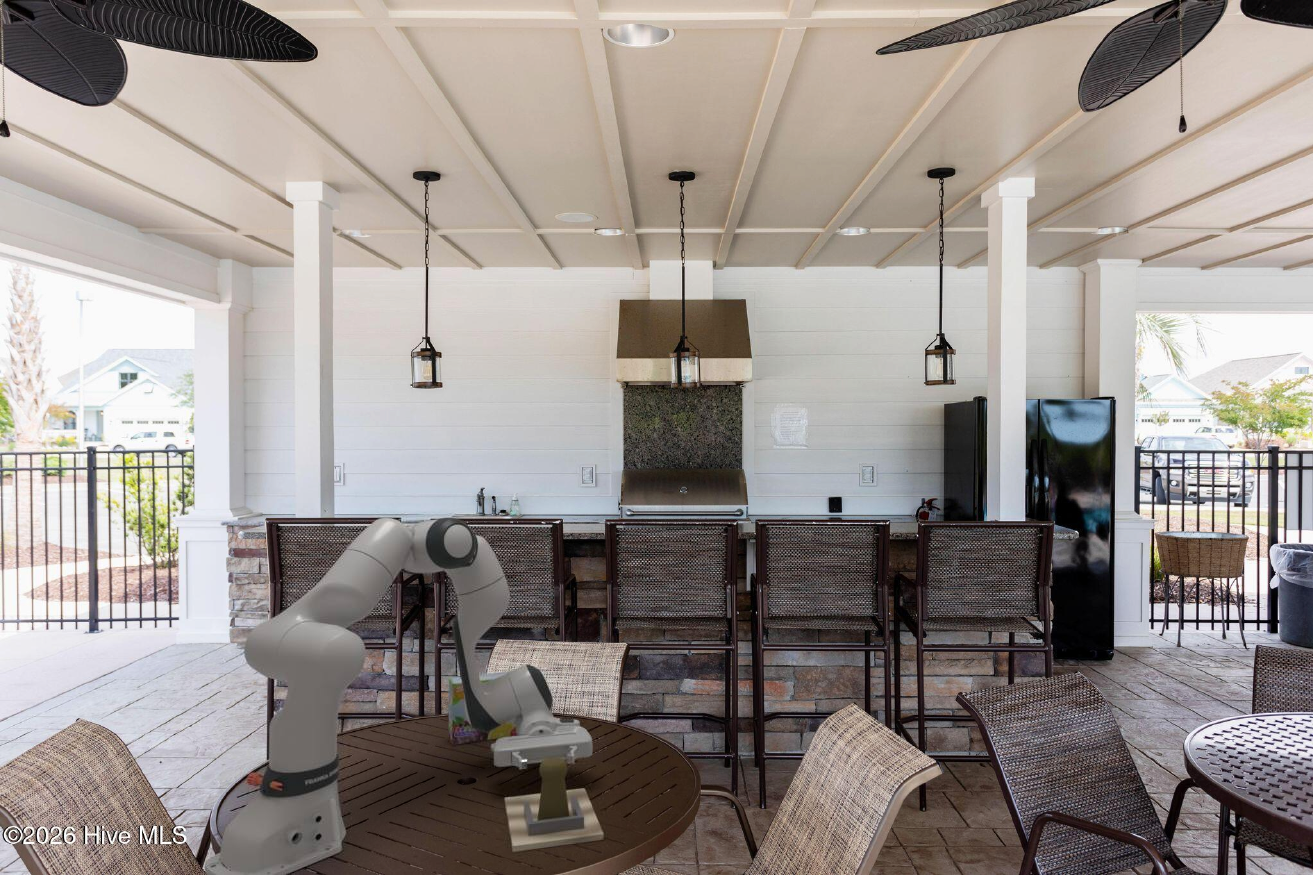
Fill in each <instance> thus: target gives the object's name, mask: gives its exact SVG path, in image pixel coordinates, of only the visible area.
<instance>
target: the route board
mask: <svg viewBox="0 0 1313 875" xmlns="http://www.w3.org/2000/svg"><path fill="white" fill-rule="evenodd" d="M566 793H567V800H568V808H569V816H574V815H573V812H572V809H571V797H577V800H578V803H579V805H580V808H581V811H582V813H583V816H584V828H583V829H576V830H568V831H561V832H553V833H546V834H538V835H531V836H528V831H527V826H526V821H525V817H524V803H527V802H529V804H530V808H531V812H532V817H533V821H537V819H538V811H539V803H540V795H541V792H540V793H534V794H533V793H532V794H526V795H517V796H508V797H504V807H505V812H506V813H505V814H506V818H507V819H506V820H507V825H508V831H509V837H510V838H509V839H510V843H511V850H512V853H517V852H524V851H530V850H539V849H545V848H552V847H559V846H560V847H561V846H567V845H573V844H580V843H588V842H595V841H596V842H597V841H602V840H603V841H604V831H603V829H602V827H601V824H600V822H599V820H598V817H597V815H596V813H595V810H594V807H593V805H592V802H591V801H590V799H589V795H588V793H587V790H586V788H584V787H583V788H574V789H566Z"/></svg>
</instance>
